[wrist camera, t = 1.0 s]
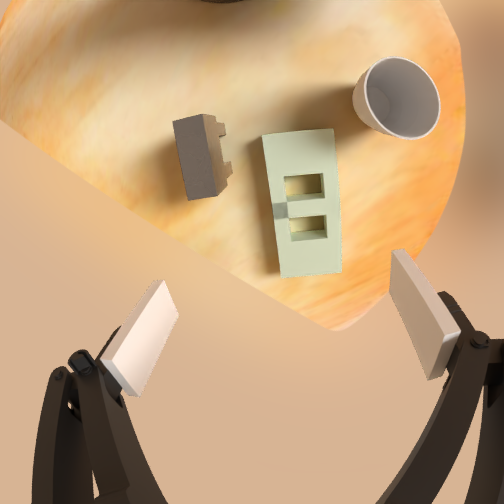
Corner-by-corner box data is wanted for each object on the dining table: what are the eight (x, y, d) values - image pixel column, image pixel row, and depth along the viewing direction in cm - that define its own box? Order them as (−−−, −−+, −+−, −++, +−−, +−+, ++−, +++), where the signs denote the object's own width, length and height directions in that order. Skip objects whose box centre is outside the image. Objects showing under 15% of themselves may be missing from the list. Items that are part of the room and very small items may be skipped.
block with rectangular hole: (263, 134, 30) (261, 135, 28) (328, 128, 29) (333, 128, 26) (281, 267, 38) (281, 278, 35) (338, 261, 37) (341, 272, 34)
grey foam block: (199, 122, 30) (172, 121, 22) (223, 117, 30) (202, 113, 22) (210, 182, 34) (188, 200, 26) (233, 179, 33) (217, 196, 25)
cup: (371, 147, 29) (403, 156, 20) (327, 98, 28) (345, 86, 19) (411, 111, 26) (453, 110, 17) (370, 62, 24) (401, 42, 16)
